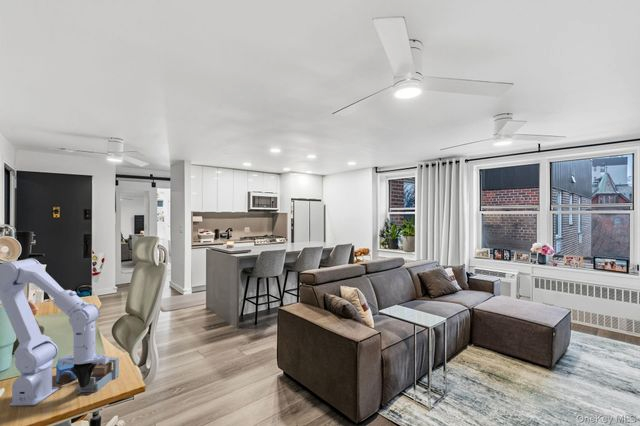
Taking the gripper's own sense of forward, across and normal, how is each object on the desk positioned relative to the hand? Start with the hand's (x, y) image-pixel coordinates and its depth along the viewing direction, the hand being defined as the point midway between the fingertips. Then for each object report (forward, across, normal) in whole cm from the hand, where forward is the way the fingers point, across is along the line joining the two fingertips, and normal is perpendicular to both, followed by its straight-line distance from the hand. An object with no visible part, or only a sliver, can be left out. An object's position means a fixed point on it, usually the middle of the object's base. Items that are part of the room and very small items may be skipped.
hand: (84, 385), depth 103 cm
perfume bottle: (0, +16, -15) cm, 21 cm away
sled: (+2, 0, -9) cm, 9 cm away
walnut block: (+2, 0, -9) cm, 9 cm away
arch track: (+3, 0, -8) cm, 8 cm away
